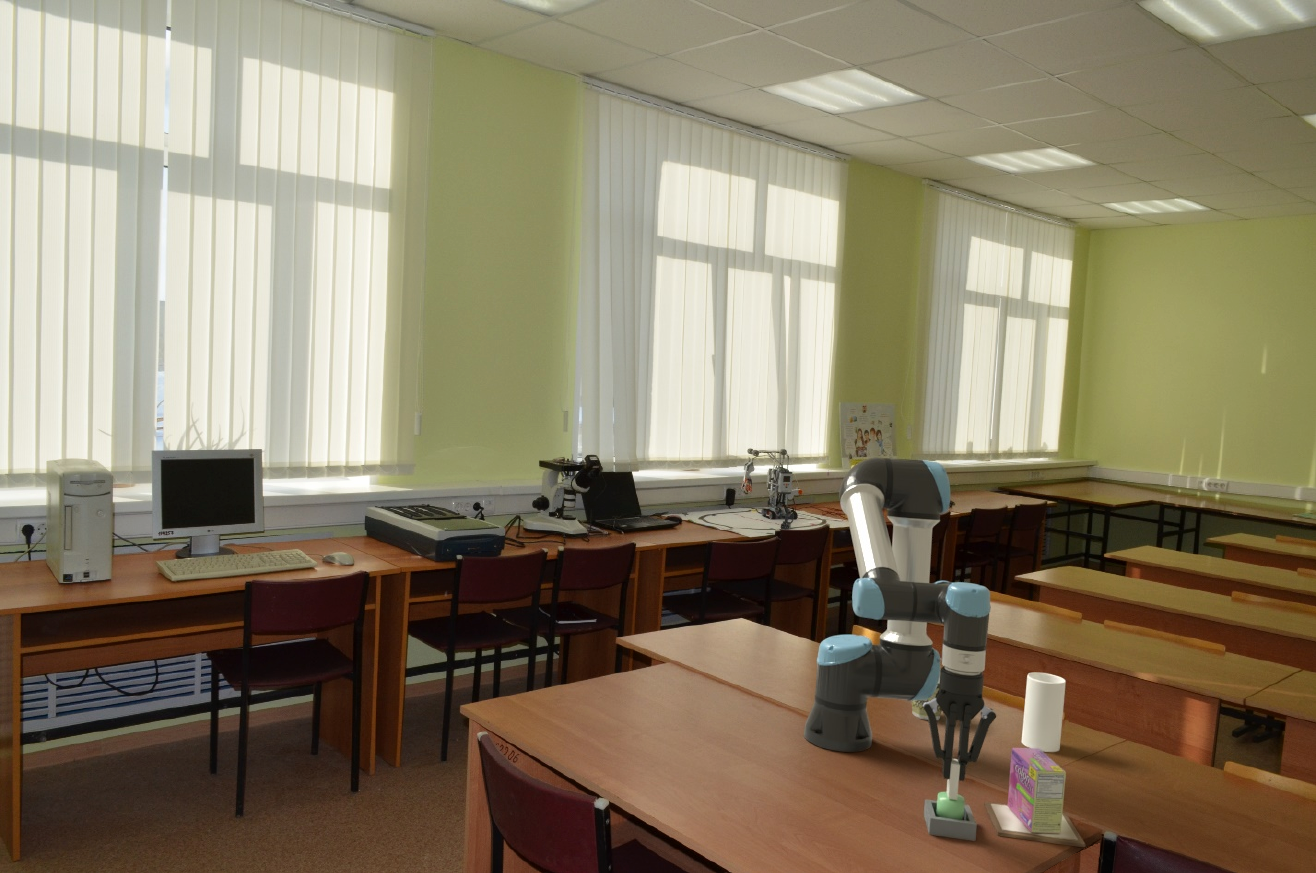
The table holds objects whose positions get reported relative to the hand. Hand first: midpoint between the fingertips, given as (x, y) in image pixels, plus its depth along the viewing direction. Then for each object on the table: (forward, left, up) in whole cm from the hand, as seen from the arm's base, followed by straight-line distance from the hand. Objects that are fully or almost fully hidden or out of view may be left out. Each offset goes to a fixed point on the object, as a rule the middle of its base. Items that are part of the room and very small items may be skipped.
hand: (951, 796), depth 169 cm
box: (+16, +6, -5) cm, 18 cm away
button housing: (0, 0, -6) cm, 6 cm away
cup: (+28, +51, -6) cm, 59 cm away
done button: (0, 0, -5) cm, 5 cm away
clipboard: (+16, +6, -6) cm, 18 cm away
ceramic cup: (+5, +62, -6) cm, 63 cm away
